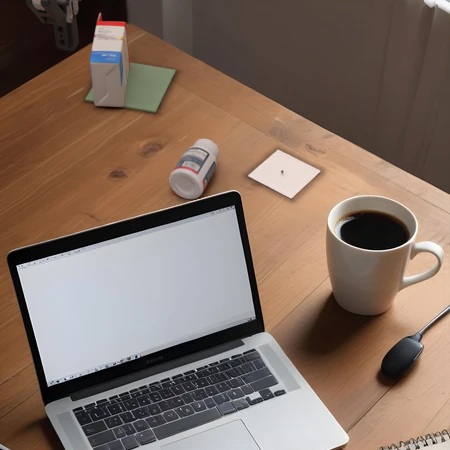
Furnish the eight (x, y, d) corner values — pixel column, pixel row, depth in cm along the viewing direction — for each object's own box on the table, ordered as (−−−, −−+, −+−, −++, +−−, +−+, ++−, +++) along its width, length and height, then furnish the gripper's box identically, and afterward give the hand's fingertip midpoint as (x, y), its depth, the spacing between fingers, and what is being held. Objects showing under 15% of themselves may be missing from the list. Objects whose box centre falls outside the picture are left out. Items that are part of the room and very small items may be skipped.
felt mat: (85, 101, 137) (85, 99, 136) (109, 60, 144) (108, 58, 144) (155, 113, 135) (155, 111, 135) (176, 71, 142) (175, 69, 142)
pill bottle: (182, 204, 123) (204, 168, 129) (208, 195, 120) (230, 158, 125) (161, 176, 121) (184, 140, 126) (187, 166, 117) (210, 130, 123)
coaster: (321, 171, 127) (321, 167, 126) (291, 198, 123) (291, 194, 122) (278, 149, 130) (278, 145, 129) (247, 175, 126) (247, 171, 125)
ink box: (120, 62, 128) (128, 10, 138) (88, 61, 128) (98, 9, 137) (124, 108, 135) (131, 55, 144) (93, 107, 135) (103, 55, 144)
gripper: (36, -143, 86) (57, 12, 100) (-17, -86, 78) (14, 74, 92) (105, -133, 86) (117, 21, 99) (59, -75, 77) (79, 85, 91)
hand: (67, 46), depth 95 cm, fingers closed
